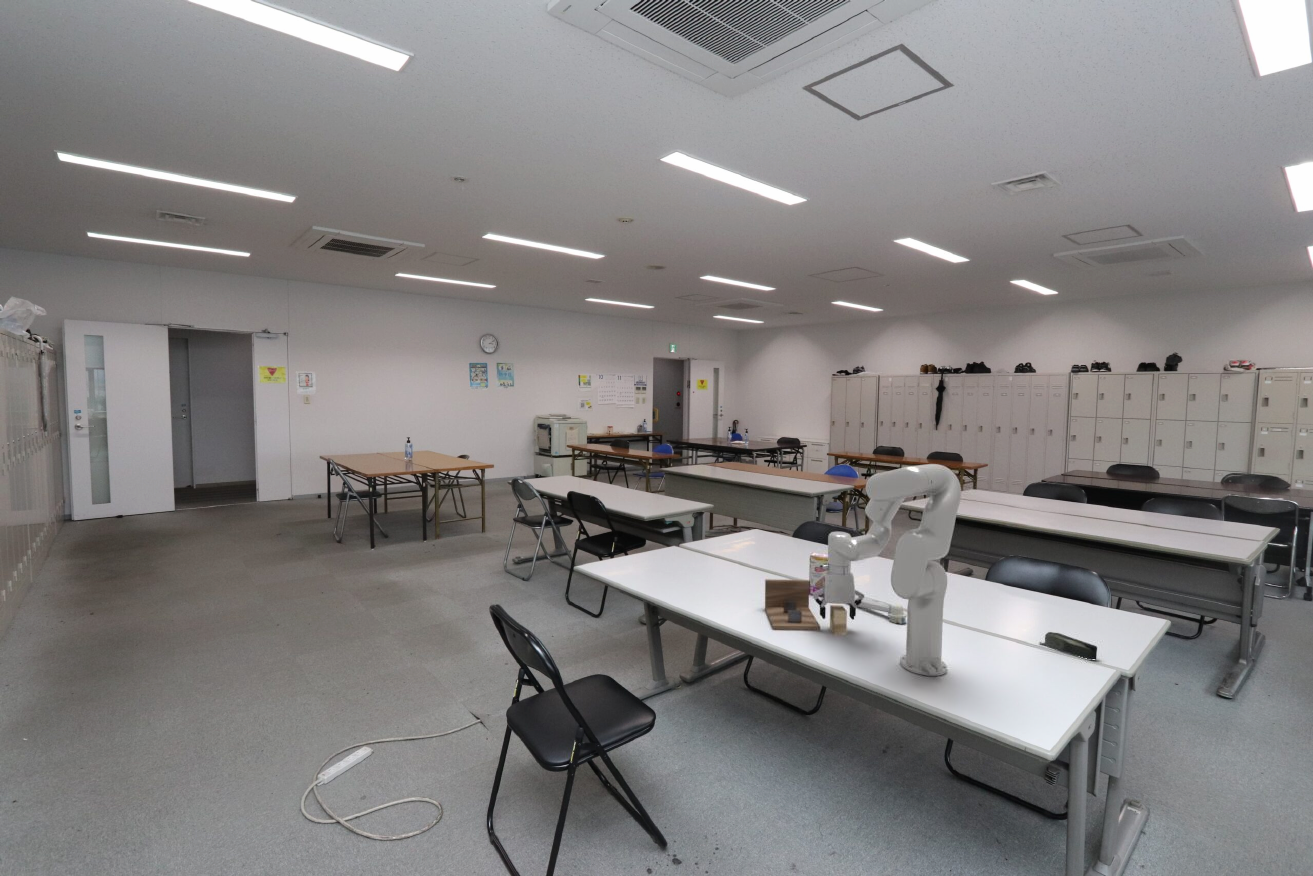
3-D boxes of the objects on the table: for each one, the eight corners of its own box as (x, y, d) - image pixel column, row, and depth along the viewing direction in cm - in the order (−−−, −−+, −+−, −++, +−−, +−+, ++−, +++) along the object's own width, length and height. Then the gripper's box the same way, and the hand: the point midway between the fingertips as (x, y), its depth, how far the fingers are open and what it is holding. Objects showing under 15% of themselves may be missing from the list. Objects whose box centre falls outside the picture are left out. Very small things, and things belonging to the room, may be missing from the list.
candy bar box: (808, 595, 235) (809, 555, 234) (811, 591, 239) (812, 552, 238) (836, 599, 229) (837, 558, 228) (839, 596, 234) (840, 556, 233)
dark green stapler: (1098, 644, 176) (1043, 627, 188) (1094, 647, 175) (1039, 629, 187) (1097, 660, 177) (1042, 642, 189) (1093, 663, 175) (1038, 644, 187)
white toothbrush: (852, 592, 227) (908, 602, 206) (854, 609, 227) (910, 621, 205) (843, 594, 224) (898, 605, 203) (844, 612, 224) (900, 624, 203)
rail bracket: (846, 634, 196) (846, 611, 195) (834, 634, 196) (834, 611, 195) (841, 627, 202) (841, 605, 201) (829, 627, 202) (830, 605, 201)
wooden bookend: (820, 630, 199) (820, 597, 198) (773, 629, 200) (773, 597, 199) (807, 610, 218) (808, 579, 218) (764, 609, 219) (765, 579, 218)
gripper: (815, 571, 194) (814, 621, 195) (868, 572, 193) (866, 622, 195) (810, 565, 201) (809, 613, 203) (861, 565, 201) (859, 614, 202)
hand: (837, 617), depth 199 cm, fingers open, 9 cm apart
